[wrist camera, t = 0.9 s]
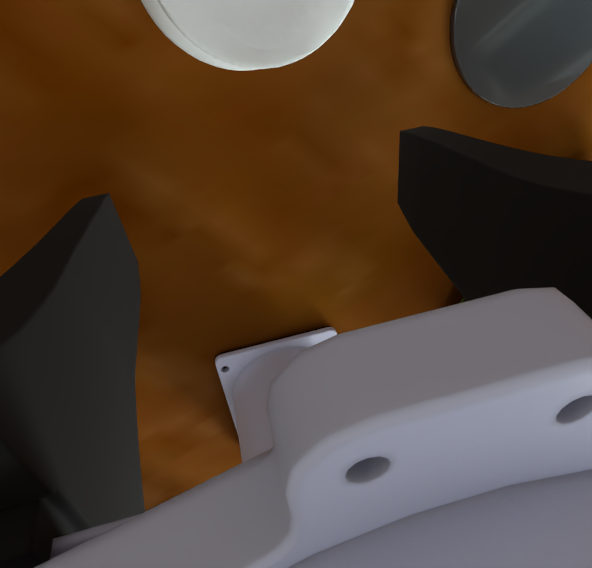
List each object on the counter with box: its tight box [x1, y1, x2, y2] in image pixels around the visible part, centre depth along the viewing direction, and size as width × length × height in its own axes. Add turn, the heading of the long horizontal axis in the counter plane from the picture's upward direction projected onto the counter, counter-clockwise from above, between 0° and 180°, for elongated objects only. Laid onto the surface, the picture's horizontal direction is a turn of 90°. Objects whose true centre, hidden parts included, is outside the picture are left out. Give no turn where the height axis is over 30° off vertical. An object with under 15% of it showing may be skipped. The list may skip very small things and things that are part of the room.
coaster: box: [450, 0, 592, 108], centre depth 23 cm, size 9×9×1 cm
